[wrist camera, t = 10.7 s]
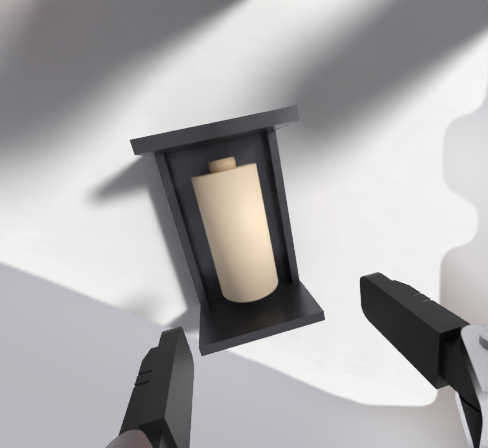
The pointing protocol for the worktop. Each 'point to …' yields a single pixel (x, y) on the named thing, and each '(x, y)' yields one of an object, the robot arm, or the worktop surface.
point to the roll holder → (194, 235)
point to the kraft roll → (237, 229)
